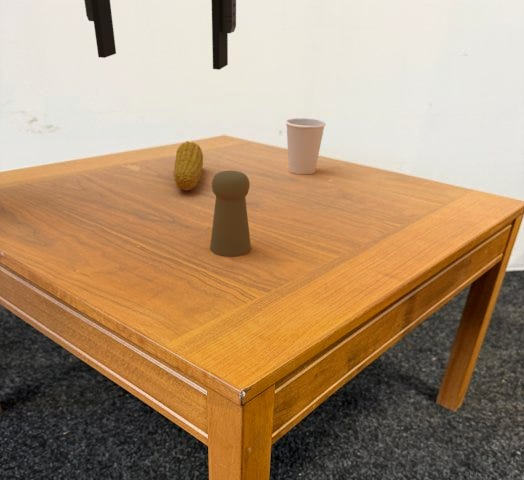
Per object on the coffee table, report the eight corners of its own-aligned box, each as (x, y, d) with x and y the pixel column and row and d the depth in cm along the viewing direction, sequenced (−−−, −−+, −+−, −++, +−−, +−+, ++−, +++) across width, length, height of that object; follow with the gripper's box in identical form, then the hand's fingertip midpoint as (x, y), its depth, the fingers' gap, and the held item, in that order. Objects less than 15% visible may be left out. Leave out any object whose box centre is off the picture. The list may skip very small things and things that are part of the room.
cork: (201, 249, 80) (199, 173, 74) (225, 237, 84) (225, 164, 78) (236, 259, 77) (236, 181, 71) (258, 246, 82) (261, 171, 76)
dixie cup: (302, 178, 114) (306, 127, 109) (274, 169, 119) (277, 120, 114) (329, 172, 119) (334, 123, 113) (301, 164, 124) (305, 116, 119)
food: (177, 167, 118) (175, 138, 115) (203, 167, 119) (202, 138, 115) (172, 196, 100) (170, 163, 97) (203, 197, 101) (202, 163, 98)
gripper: (292, -202, 48) (279, 65, 61) (43, -202, 53) (80, 45, 66) (269, -219, 43) (260, 79, 56) (-8, -217, 47) (44, 56, 61)
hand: (162, 61), depth 61 cm, fingers open, 13 cm apart
